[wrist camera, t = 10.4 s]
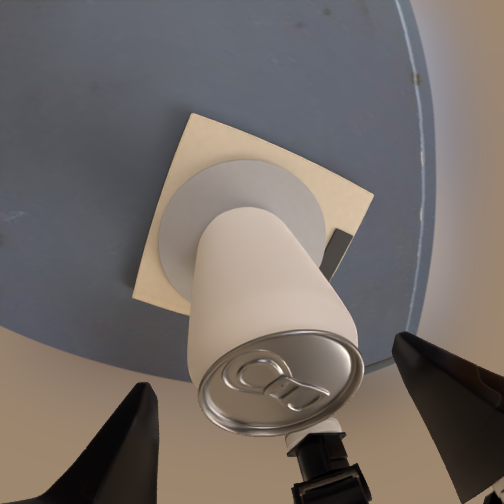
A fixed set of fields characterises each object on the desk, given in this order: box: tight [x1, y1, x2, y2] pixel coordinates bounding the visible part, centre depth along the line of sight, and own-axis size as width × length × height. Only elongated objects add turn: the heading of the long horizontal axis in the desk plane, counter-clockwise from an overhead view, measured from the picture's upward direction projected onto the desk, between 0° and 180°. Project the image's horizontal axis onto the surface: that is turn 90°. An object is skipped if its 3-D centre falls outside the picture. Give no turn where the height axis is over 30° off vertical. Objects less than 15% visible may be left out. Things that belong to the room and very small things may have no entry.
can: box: [187, 207, 364, 437], centre depth 14 cm, size 6×6×12 cm
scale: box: [132, 113, 374, 316], centre depth 20 cm, size 14×14×2 cm
